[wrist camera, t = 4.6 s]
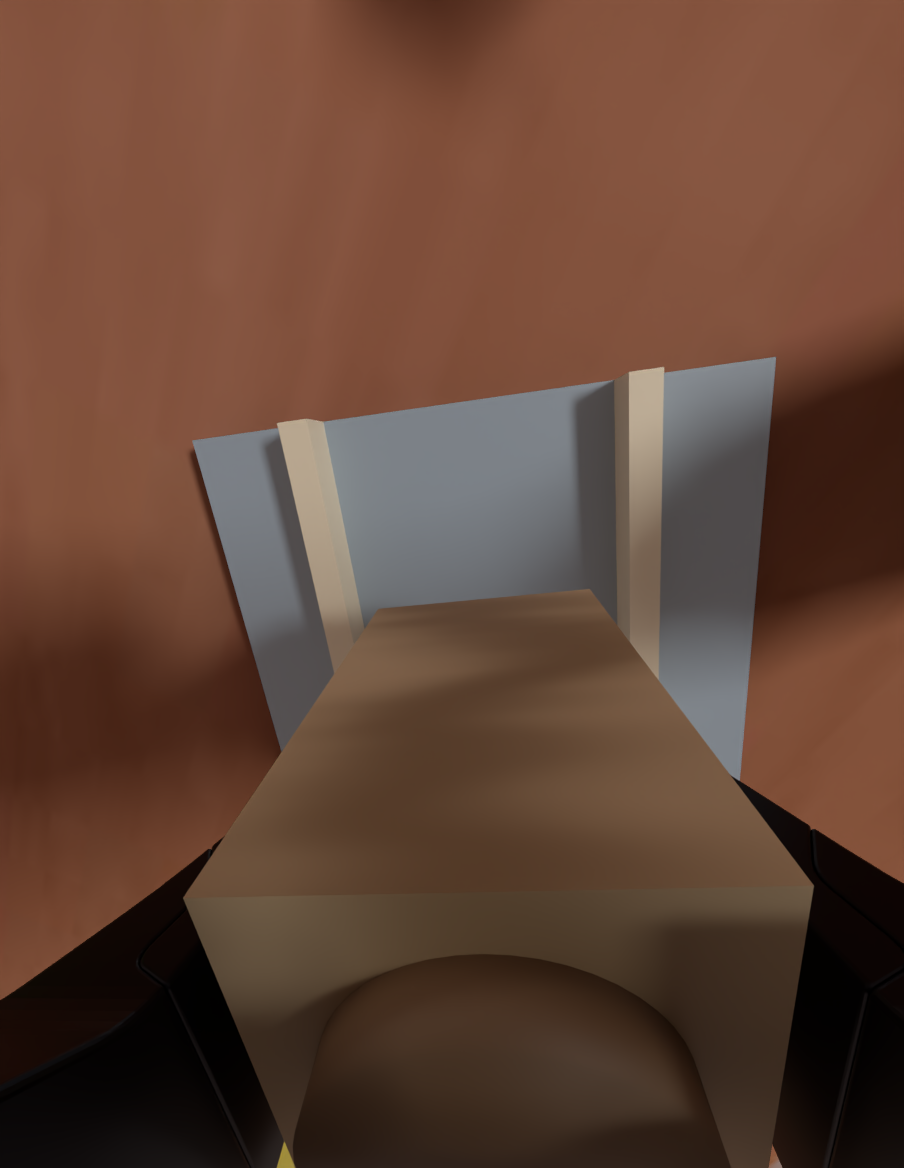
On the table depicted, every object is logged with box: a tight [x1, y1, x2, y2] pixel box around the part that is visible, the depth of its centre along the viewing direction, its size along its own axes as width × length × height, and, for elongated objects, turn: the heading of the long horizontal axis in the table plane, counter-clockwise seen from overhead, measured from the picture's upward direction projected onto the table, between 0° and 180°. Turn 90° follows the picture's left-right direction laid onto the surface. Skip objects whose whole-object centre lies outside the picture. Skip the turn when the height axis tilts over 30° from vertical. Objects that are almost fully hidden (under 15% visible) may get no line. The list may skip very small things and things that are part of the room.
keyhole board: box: [193, 357, 776, 781], centre depth 18 cm, size 20×27×2 cm
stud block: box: [183, 589, 814, 1168], centre depth 7 cm, size 5×5×8 cm
